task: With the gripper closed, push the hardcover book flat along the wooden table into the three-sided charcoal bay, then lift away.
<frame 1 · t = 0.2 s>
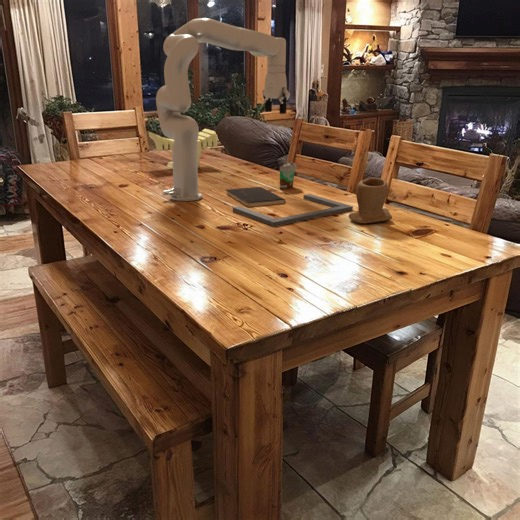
hand: (275, 112, 236), 31 cm above the table, fingers open, 9 cm apart
charcoal bay: (290, 209, 206), on the table
stone cup: (371, 222, 192), on the table
slatted curved stool: (184, 168, 282), on the table
hardcover book: (254, 200, 222), on the table
food container: (288, 187, 242), on the table
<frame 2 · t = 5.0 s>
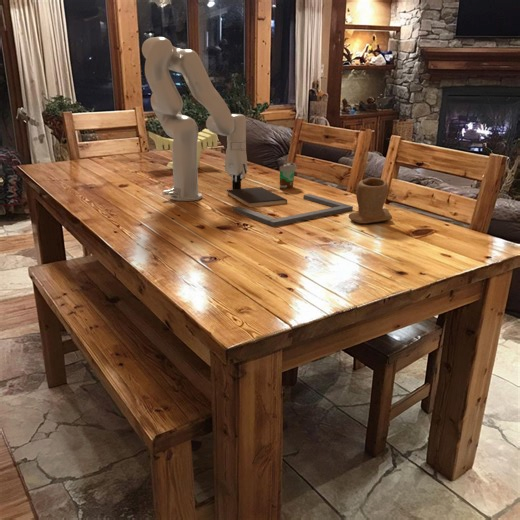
hand: (236, 190, 231), 1 cm above the table, fingers closed
hardcover book: (256, 200, 222), on the table, touching gripper
everything else where it was.
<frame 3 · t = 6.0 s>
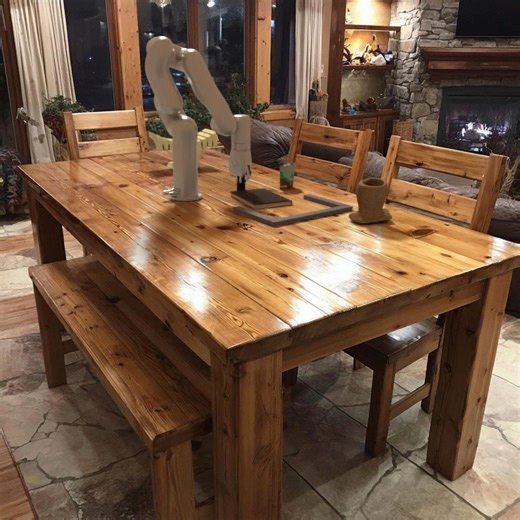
hand: (241, 191, 229), 1 cm above the table, fingers closed
hardcover book: (260, 201, 220), on the table
everything else where it was.
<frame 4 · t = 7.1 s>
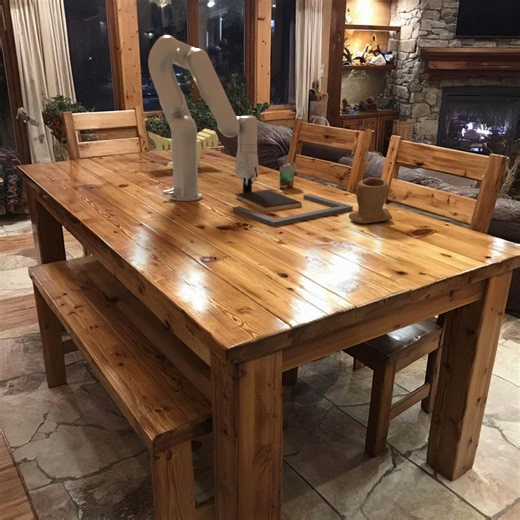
hand: (247, 194, 226), 1 cm above the table, fingers closed
hardcover book: (267, 203, 216), on the table
everything else where it was.
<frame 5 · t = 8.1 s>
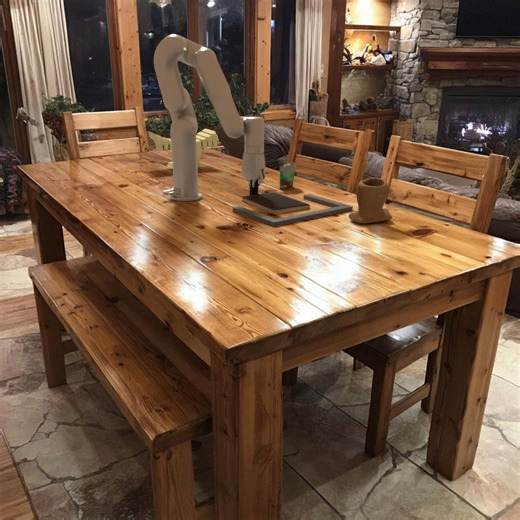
hand: (253, 196, 222), 1 cm above the table, fingers closed
hardcover book: (274, 206, 213), on the table, touching gripper
everything else where it was.
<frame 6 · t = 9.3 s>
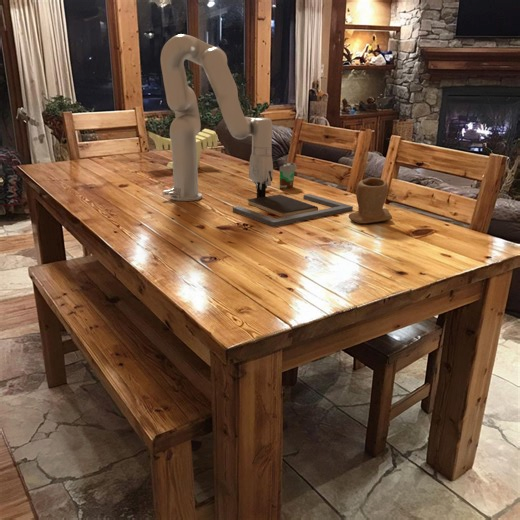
hand: (261, 198, 219), 1 cm above the table, fingers closed
hardcover book: (281, 209, 209), on the table
everything else where it was.
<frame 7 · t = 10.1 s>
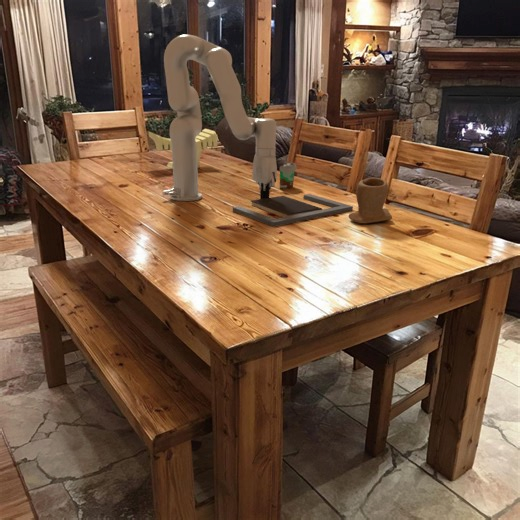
hand: (264, 199, 217), 1 cm above the table, fingers closed
hardcover book: (285, 210, 208), on the table, touching gripper
everything else where it was.
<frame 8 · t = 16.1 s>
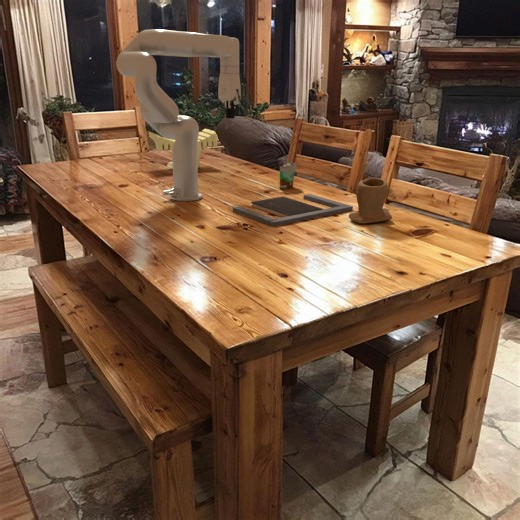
hand: (230, 118, 228), 29 cm above the table, fingers closed
hardcover book: (286, 211, 206), on the table
everything else where it was.
at the end: hardcover book inside the target area (0.9 cm from its centre), on the table; hardcover book tilted 0° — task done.
